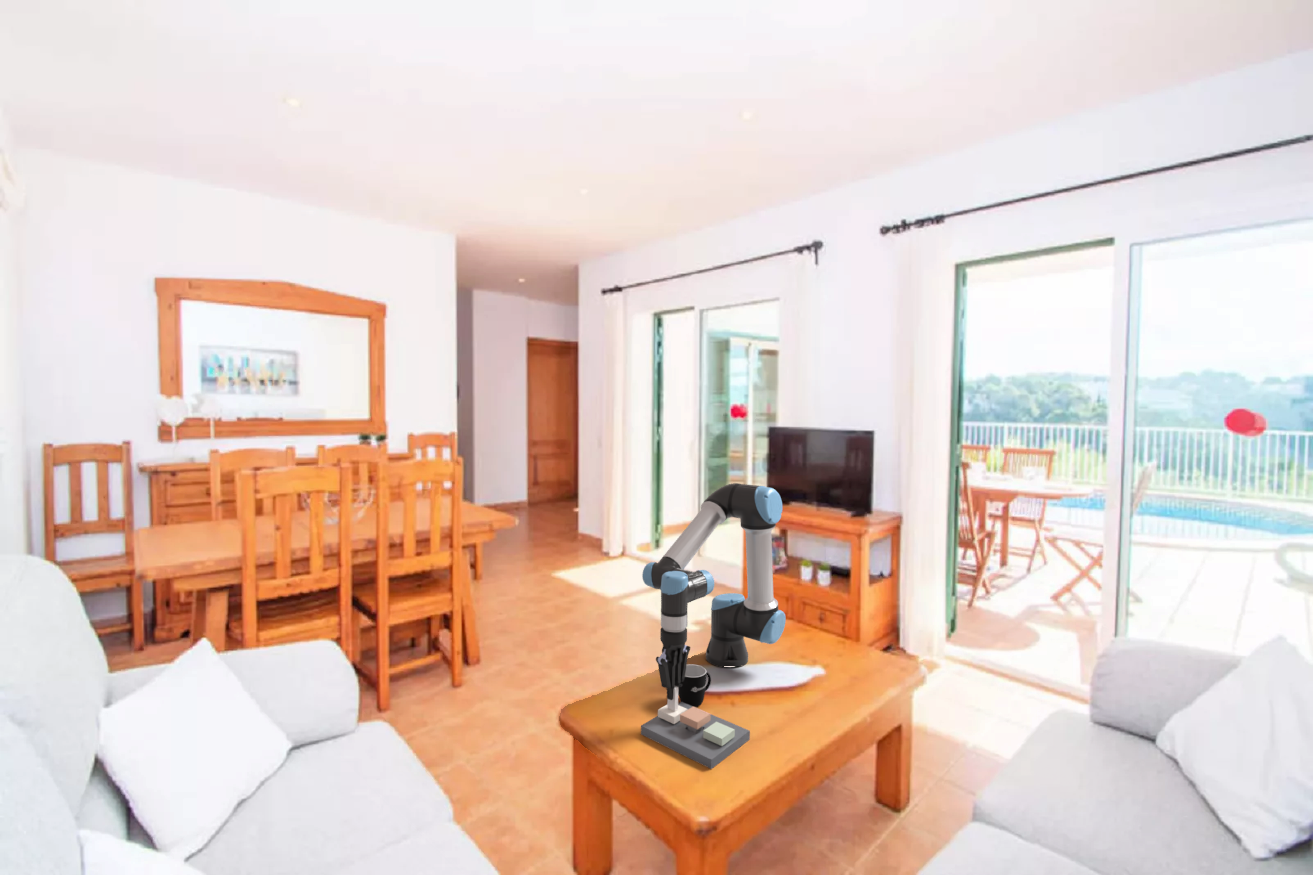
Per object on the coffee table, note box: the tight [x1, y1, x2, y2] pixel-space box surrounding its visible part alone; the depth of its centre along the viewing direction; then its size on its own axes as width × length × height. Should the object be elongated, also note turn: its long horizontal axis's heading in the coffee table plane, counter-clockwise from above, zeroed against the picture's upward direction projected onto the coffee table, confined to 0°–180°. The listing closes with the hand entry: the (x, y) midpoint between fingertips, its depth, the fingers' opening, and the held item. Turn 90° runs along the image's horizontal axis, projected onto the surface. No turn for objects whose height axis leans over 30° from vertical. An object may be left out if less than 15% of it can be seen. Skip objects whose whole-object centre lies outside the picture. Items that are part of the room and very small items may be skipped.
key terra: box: [680, 706, 711, 734], centre depth 168 cm, size 6×6×4 cm
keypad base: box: [640, 701, 751, 770], centre depth 169 cm, size 18×24×2 cm
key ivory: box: [657, 704, 688, 724], centre depth 174 cm, size 6×6×4 cm
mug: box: [678, 663, 712, 708], centre depth 188 cm, size 12×9×10 cm
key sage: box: [703, 722, 735, 746], centre depth 163 cm, size 6×6×4 cm
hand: (672, 708), depth 174 cm, fingers closed
